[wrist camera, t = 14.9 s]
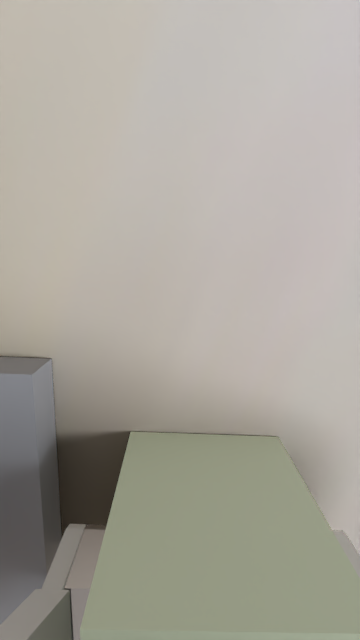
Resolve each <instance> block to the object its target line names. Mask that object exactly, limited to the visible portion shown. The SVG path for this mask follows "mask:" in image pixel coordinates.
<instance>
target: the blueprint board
mask: <svg viewBox="0 0 360 640" xmlns="http://www.w3.org/2000/svg"><path fill="white" fill-rule="evenodd" d="M61 539H62V532H61V514H60V496H59V479H58V461H57V444H56V426H55V408H54V391H53V373H52V359H49V358H24V357H0V625H1V624H2V623H3V622H4V621H5V620H6V619H7V618H8V616H9V615H10V614H11V613H12V612H13V611H14V610H15V609H16V608H17V607H18V606H19V605H20V604H21V603H22V602H23V601H24V600H25V599H26V598H27V597H28V596H29V595H30V594H31V593H32V592H33V591H34V590H35V589H41V588H42V586H43V583H44V581H45V579H46V576H47V574H48V571H49V569H50V566H51V564H52V561H53V559H54V556H55V554H56V552H57V549H58V547H59V544H60V542H61Z"/></svg>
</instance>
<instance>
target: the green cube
mask: <svg viewBox="0 0 360 640" xmlns="http://www.w3.org/2000/svg"><path fill="white" fill-rule="evenodd" d="M80 640H360V578H359V576H358V575H357V573H356V571H355V569H354V568H353V566H352V564H351V562H350V561H349V559H348V557H347V555H346V554H345V552H344V550H343V548H342V547H341V545H340V543H339V541H338V540H337V538H336V536H335V535H334V533H333V531H332V529H331V528H330V526H329V524H328V522H327V521H326V519H325V517H324V515H323V514H322V512H321V510H320V508H319V507H318V505H317V503H316V501H315V500H314V498H313V496H312V495H311V493H310V491H309V489H308V488H307V486H306V484H305V482H304V481H303V479H302V477H301V475H300V474H299V472H298V470H297V468H296V467H295V465H294V463H293V462H292V460H291V458H290V456H289V455H288V453H287V451H286V449H285V448H284V446H283V444H282V442H281V441H280V439H279V437H274V436H246V435H217V434H189V433H160V432H130V436H129V440H128V444H127V448H126V452H125V456H124V460H123V463H122V467H121V471H120V475H119V479H118V483H117V487H116V491H115V495H114V499H113V502H112V506H111V510H110V514H109V518H108V522H107V526H106V530H105V534H104V538H103V541H102V545H101V549H100V553H99V557H98V561H97V565H96V569H95V573H94V576H93V580H92V584H91V588H90V592H89V596H88V600H87V604H86V608H85V612H84V615H83V619H82V623H81V627H80Z"/></svg>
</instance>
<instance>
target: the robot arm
mask: <svg viewBox="0 0 360 640" xmlns="http://www.w3.org/2000/svg"><path fill="white" fill-rule="evenodd" d="M106 526H107V525H94V524H69V525H68V527H67V528H66V529H65V532H64V534H63V537H62V539H61V542H60V544H59V547H58V549H57V552H56V554H55V556H54V559H53V561H52V564H51V566H50V569H49V571H48V574H47V576H46V579H45V581H44V583H43V586H42V588H41V589H35V590H34V591H33V592H32V593H31V594H30V595H29V596H28V597H27V598H26V599H25V600H24V601H23V602H22V603H21V604H20V605H19V606H18V607H17V608H16V609H15V610H14V611H13V612H12V613H11V614H10V615H9V616H8V618H7V619H6V620H5V621H4V622H3V623H2V624H1V625H0V640H80V627H81V623H82V619H83V615H84V612H85V608H86V604H87V600H88V596H89V592H90V588H91V584H92V580H93V576H94V573H95V569H96V565H97V561H98V557H99V553H100V549H101V545H102V541H103V538H104V534H105V530H106ZM332 531H333V533H334V535H335V536H336V538H337V540H338V541H339V543H340V545H341V547H342V548H343V550H344V552H345V554H346V555H347V557H348V559H349V561H350V562H351V564H352V566H353V568H354V569H355V571H356V573H357V575H358V576H359V578H360V556H359V554H358V552H357V551H356V549H355V548H354V546H353V544H352V543H351V541H350V540H349V538H348V536H347V535H346V534H345V533H344V532H343V531H338V530H332Z"/></svg>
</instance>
